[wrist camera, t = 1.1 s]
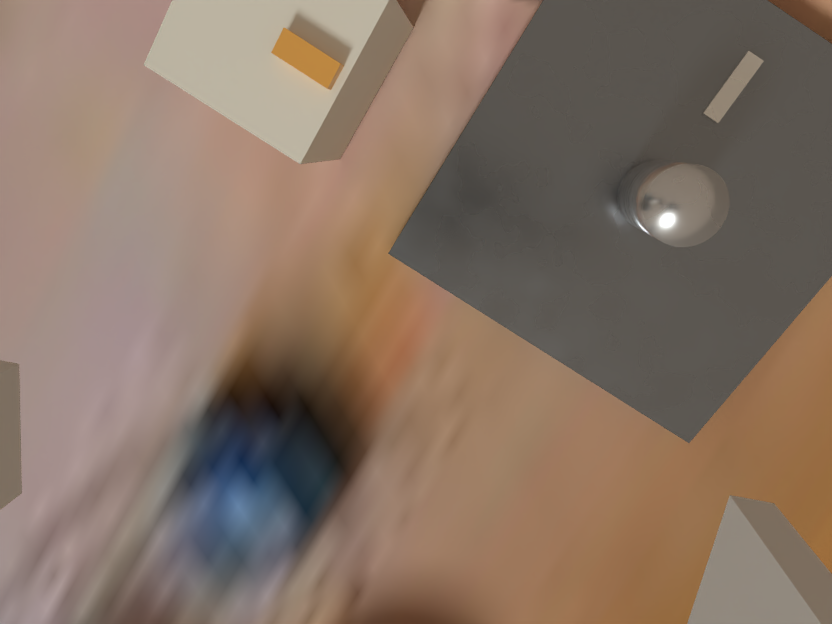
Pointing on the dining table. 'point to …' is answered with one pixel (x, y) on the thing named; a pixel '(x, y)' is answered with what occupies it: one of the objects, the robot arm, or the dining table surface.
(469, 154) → the panel
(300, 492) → the dining table surface
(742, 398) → the dining table surface
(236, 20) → the white box
